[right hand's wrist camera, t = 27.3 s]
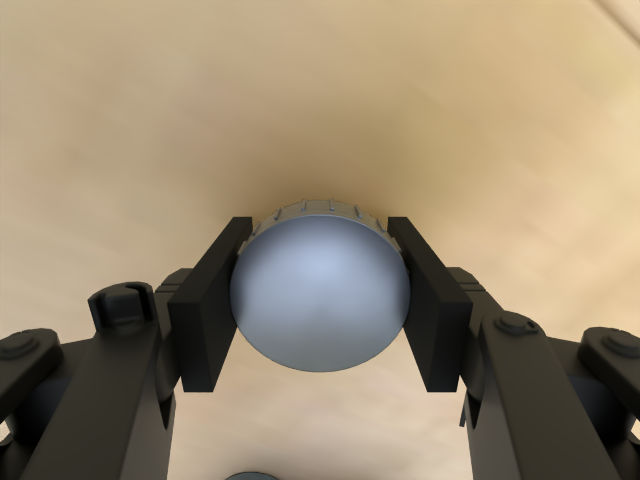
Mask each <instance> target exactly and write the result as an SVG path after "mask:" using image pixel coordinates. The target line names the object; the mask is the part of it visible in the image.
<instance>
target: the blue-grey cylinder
mask: <svg viewBox="0 0 640 480" xmlns="http://www.w3.org/2000/svg"><path fill="white" fill-rule="evenodd" d="M227 480H277V479H276V478H274V477H272V476H269V475H266V474H262V473H254V472H249V473H241V474H237V475H234V476H232V477H230V478H228V479H227Z"/></svg>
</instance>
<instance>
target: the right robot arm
mask: <svg viewBox="0 0 640 480" xmlns="http://www.w3.org/2000/svg"><path fill="white" fill-rule="evenodd" d="M252 232H253V224H252V217H233V218H232V220H231V221H230V222H229V223H228V225H227V226H226V227H225V229H224V230H223V231H222V232H221V234H220V235H219V236H218V238H217V239H216V240H215V241H214V243H213V244H212V245H211V246H210V248H209V249H208V250H207V252H206V253H205V254H204V255H203V257H202V258H201V259H200V261H199V262H198V263H197V264H196V266H195V267H194V268H181V269H179V270H178V271H176V272H174V273H172V274H171V275H169V276H168V277H167V278H166V279H165V280H164V281H163V282H162V284H161V286H159V287H158V288H157V289H156V290H155V293H153V289H152V286H150V285H149V284H147V283H143V282H125V283H120V284H115V285H112V286H109V287H107V288H104V289H102V290H100V291H98V292H96V293H95V294H93V295H92V296H91V297H90V298H89V299H88V304H89V307H90V311H91V314H92V317H93V321H94V324H95V328H96V333H95V335H94V337H93V338H91V339H86V340H81V341H76V342H71V343H65V344H60V341H59V338H58V336H57V333H56V332H55V331H53V330H52V329H44V328H40V329H32V330H30V329H29V330H24V331H22V332H17V333H14V334H12V335H10V336H8V337H6V338H4V339H2V340H0V424H1V423H2V422H3V421H4V420H5V422H6V424H7V426H8V429H9V431H10V433H9V434H8V435H7V436H6V438H5V439H4V440H2V441H1V442H0V480H167V473H168V465H169V457H170V449H171V441H172V433H173V425H174V417H175V409H176V400H175V395H174V388H175V386H176V384H177V382H178V380H179V378H180V376H181V380H182V385H183V390H184V392H213V390H214V388H215V385H216V382H217V380H218V377H219V374H220V372H221V369H222V366H223V364H224V361H225V358H226V356H227V353H228V350H229V348H230V345H231V342H232V340H233V337H234V334H235V332H236V329H237V325H236V323H235V320H234V318H233V315H232V312H231V307H230V299H229V282H230V278H231V273H232V270H233V268H234V265H235V263H236V261H237V259H238V256H236V255H237V253H238V251H239V250H240V248H241V246H242V244H243V242H244V241H246V242H247V241H248V239H249V237H250V235H251V234H252ZM387 232H388V234H389V235H390V237H391V238H393V237H394V238H395V240H396V242H397V244H398V245H399V247H400V249H401V251H402V252H401V253H400V255H401V257H402V259H403V261H404V263H405V265H406V267H407V269H408V271H409V276H410V282H411V301H410V309H409V312H408V316H407V319H406V321H405V323H404V325H403V328H404V331H405V334H406V336H407V339H408V342H409V344H410V347H411V350H412V352H413V355H414V358H415V360H416V363H417V366H418V368H419V371H420V374H421V376H422V379H423V382H424V384H425V387H426V390H427V392H456V391H457V386H458V381H459V376H461V378H462V380H463V382H464V384H465V385H466V387H467V390H466V395H465V400H464V404H463V409H462V414H461V419H460V425H459V426H461V427H464V425H465V420H466V424H467V432H468V440H469V448H470V456H471V464H472V472H473V480H640V440H639V439H638V438H637V437H636V436H635V435H634V434H633V433H632V432H631V429H632V427H633V425H634V423H635V421H636V419H638V420H639V421H640V338H638V337H636V336H634V335H631V334H630V333H629V332H626V331H623V330H621V331H620V330H619V329H615V328H606V327H592V328H588V329H587V330H585V331H584V334H583V336H582V339H581V342H580V343H578V342H572V341H567V340H562V339H557V338H551V337H547V336H546V334H545V332H544V331H543V329H542V328H541V327H540V326H539V325H538V324H537V323H536V322H534V321H533V320H531V319H530V318H528V317H525V316H523V315H520V314H518V313H514V312H510V311H504V310H503V308H502V307H501V306H500V305H499V304H498V303H497V302H496V301H495V300H494V298H493V297H492V296H491V295H490V294H489V293H488V292H486V290H485V289H484V287H483V286H482V285H481V284H479V282H478V281H477V280H476V279H475V277H474V276H473V275H472V274H470V273H468V272H467V271H465V270H463V269H461V268H460V267H445V265H444V264H443V263H442V262H441V260H440V259H439V258H438V256H437V255H436V254H435V253H434V251H433V250H432V249H431V247H430V246H429V245H428V244H427V242H426V241H425V240H424V239H423V237H422V236H421V235H420V233H419V232H418V231H417V230H416V228H415V227H414V226H413V224H412V223H411V222H410V221H409V219H408V218H407V217H388V227H387Z"/></svg>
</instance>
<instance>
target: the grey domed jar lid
mask: <svg viewBox="0 0 640 480" xmlns="http://www.w3.org/2000/svg"><path fill="white" fill-rule="evenodd" d="M401 252H402V251H401V249H400V247H399V245H398V244H397V242H396V240H395V238H394V237H393V238H391V237H390V235H389V234H388V232H387V231H386V230H385V228H384V227H383V225H382V223H381V221H380V220H379V219H377V220H375V219H374V218H373V217H372V216H370V215H369V214H367V213H366V212H364V211H362V210H361V209H360V208H359V206H357V205H356V206H355V207H354V206H351V205H348V204H345V203H341V202H337V201H333V199H332V198H330V200H311V201H306V199H303V200H302V202H299V203H295V204H292V205H289V206H287V207H284V208H282V209H281V207H279V208H277V211H276V212H274V213H273V214H271V215H270V216H269V217H267V218H266V219H265V220H264V221H263V222H262V223H261V222H258V223H257V225H256V226H255V228H254V230H253V232H252V234H251V235H250V237H249V239H248V241H247V242H246V241H244V242H243V244H242V246H241V248H240V250H239V251H238V253H237V255H236V256H238V259H237V261H236V263H235V265H234V268H233V270H232V273H231V278H230V282H229V299H230V307H231V312H232V315H233V318H234V320H235V323H236V325H237V326H238V328H239V330H240V332H241V333H242V335H243V336H244V337H245V339H246V340H247V341H248V342H249V343H250V344H251V345H252V346H253V347H254V348H255V349H256V350H257V351H259V352H260V353H261V354H262V355H264V356H266V357H267V358H269V359H271V360H272V361H274V362H276V363H279V364H281V365H283V366H286V367H289V368H292V369H297V370H301V371H308V372H333V371H339V370H344V369H348V368H351V367H354V366H357V365H359V364H362V363H364V362H366V361H368V360H370V359H371V358H373V357H375V356H376V355H378V354H379V353H380V352H382V351H383V350H384V349H385V348H386V347H387V346H388V345H389V344H391V342H392V341H393V340H394V339H395V338H396V336H397V335H398V333H399V332H400V330H401V329H402V327H403V325H404V323H405V321H406V319H407V316H408V312H409V309H410V301H411V282H410V276H409V271H408V269H407V267H406V265H405V263H404V261H403V259H402V257H401V255H400V253H401Z"/></svg>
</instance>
